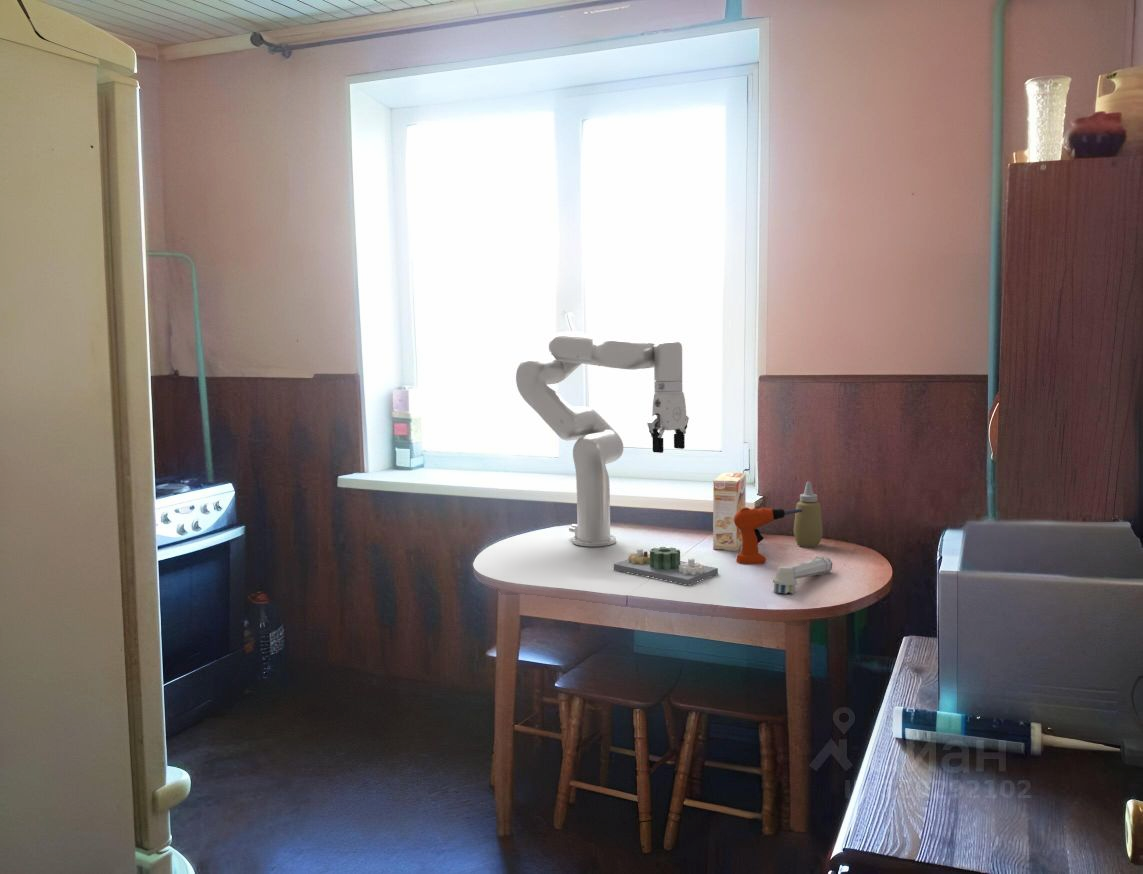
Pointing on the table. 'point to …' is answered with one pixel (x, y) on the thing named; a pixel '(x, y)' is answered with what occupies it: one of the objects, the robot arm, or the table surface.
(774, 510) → the toy drill
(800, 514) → the squeeze bottle
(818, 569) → the toothbrush head
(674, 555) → the idler gear
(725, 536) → the coffeecake box
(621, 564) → the gear board
